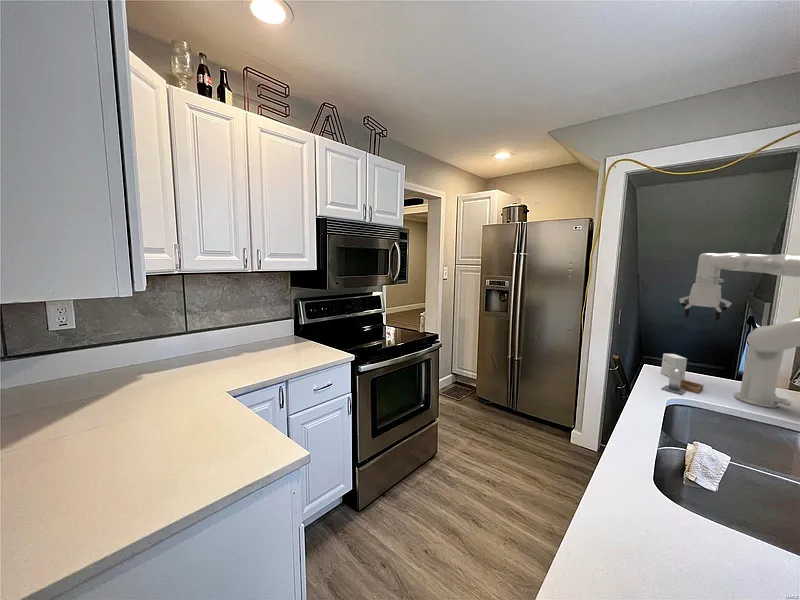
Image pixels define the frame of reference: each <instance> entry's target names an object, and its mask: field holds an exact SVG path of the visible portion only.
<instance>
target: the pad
mask: <svg viewBox="0 0 800 600" xmlns="http://www.w3.org/2000/svg"><path fill="white" fill-rule="evenodd" d="M668 386H669V384H668V385H667V384H666V385H664V386H663V387H661V389H660V390H661V391H664V390H665V392H668V393H672V394H676V395H679V396H683V395H684V394H685V393H686V392H687V391H686V390H683V389H680V391H673V390H670V389H668Z"/></svg>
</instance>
